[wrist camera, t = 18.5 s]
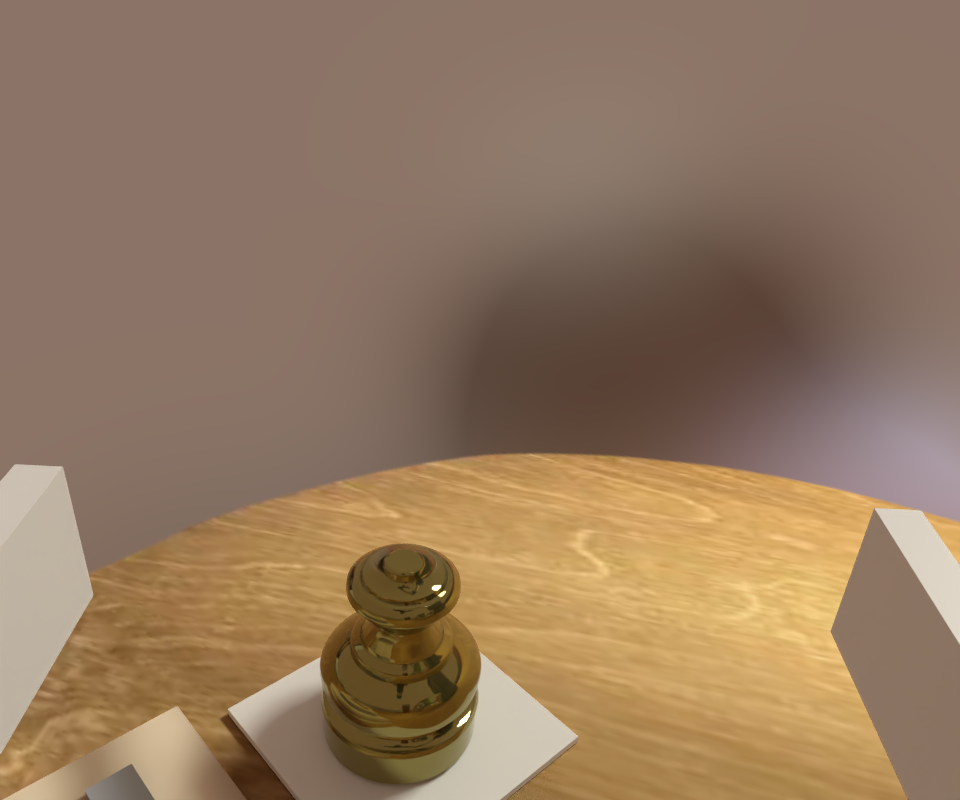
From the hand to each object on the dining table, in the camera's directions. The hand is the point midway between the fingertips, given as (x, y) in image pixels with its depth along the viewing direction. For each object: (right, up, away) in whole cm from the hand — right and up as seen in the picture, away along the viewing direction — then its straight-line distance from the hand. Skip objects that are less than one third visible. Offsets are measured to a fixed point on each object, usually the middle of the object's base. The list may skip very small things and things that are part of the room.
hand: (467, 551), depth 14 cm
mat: (-4, -13, +27) cm, 31 cm away
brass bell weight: (-4, -13, +27) cm, 30 cm away
